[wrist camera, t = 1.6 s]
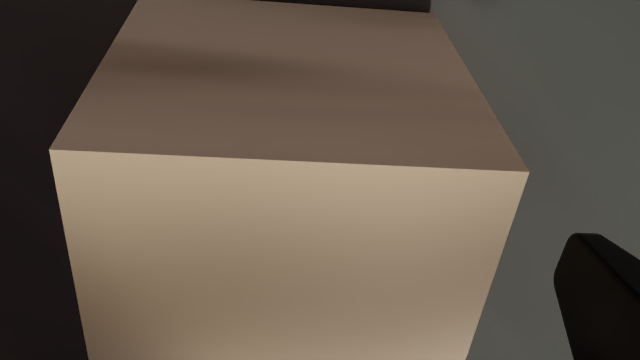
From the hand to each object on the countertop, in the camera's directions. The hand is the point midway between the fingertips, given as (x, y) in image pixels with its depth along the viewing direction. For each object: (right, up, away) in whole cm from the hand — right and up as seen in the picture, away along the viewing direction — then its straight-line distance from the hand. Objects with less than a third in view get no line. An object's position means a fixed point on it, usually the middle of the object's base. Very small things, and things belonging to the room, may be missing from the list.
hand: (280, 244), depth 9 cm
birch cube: (0, +2, +3) cm, 3 cm away
